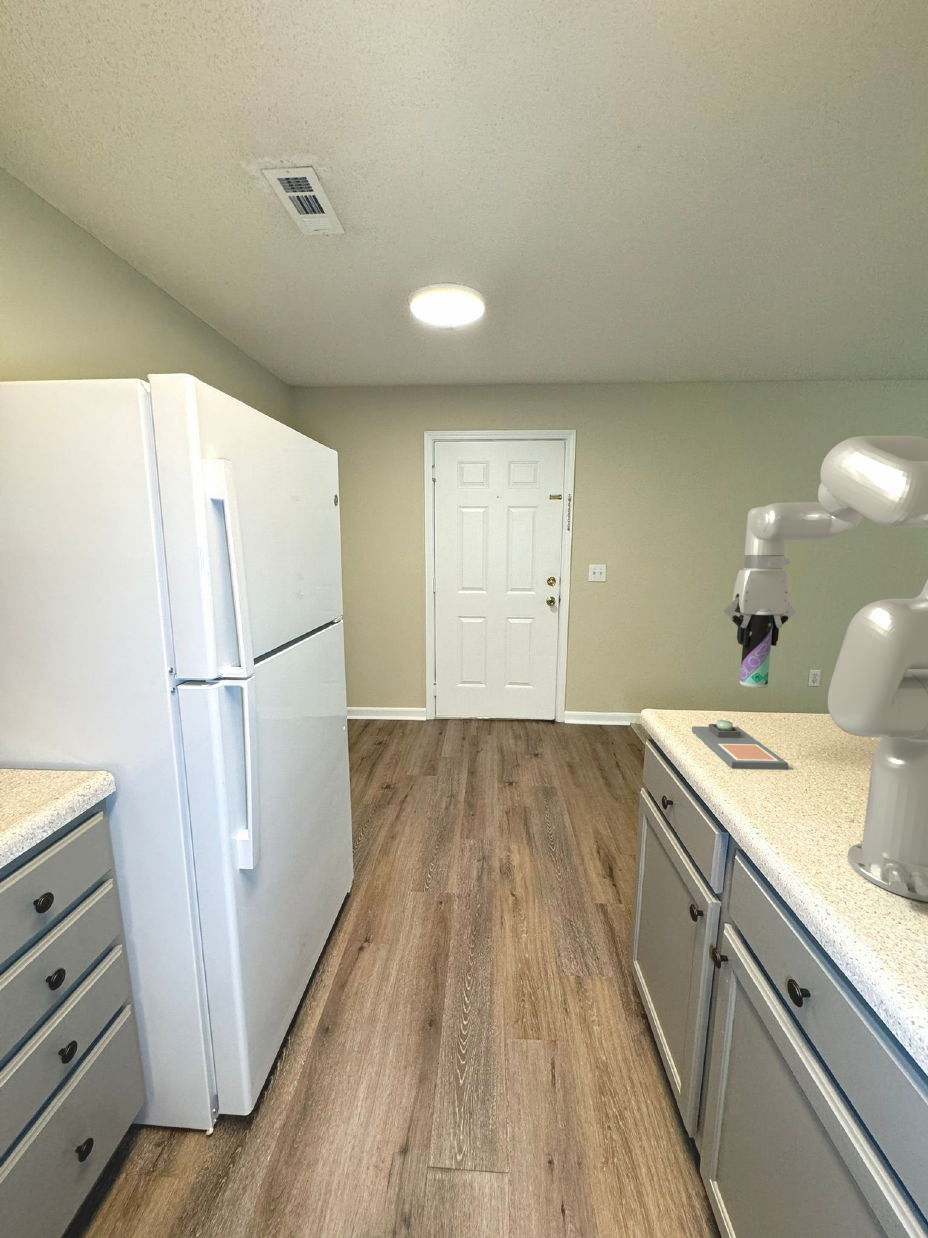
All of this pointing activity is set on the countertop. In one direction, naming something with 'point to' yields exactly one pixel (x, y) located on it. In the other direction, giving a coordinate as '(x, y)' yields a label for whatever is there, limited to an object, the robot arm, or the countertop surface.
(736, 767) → the picture board
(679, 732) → the countertop surface
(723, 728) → the button
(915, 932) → the countertop surface
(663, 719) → the countertop surface
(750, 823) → the countertop surface
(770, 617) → the spray can
